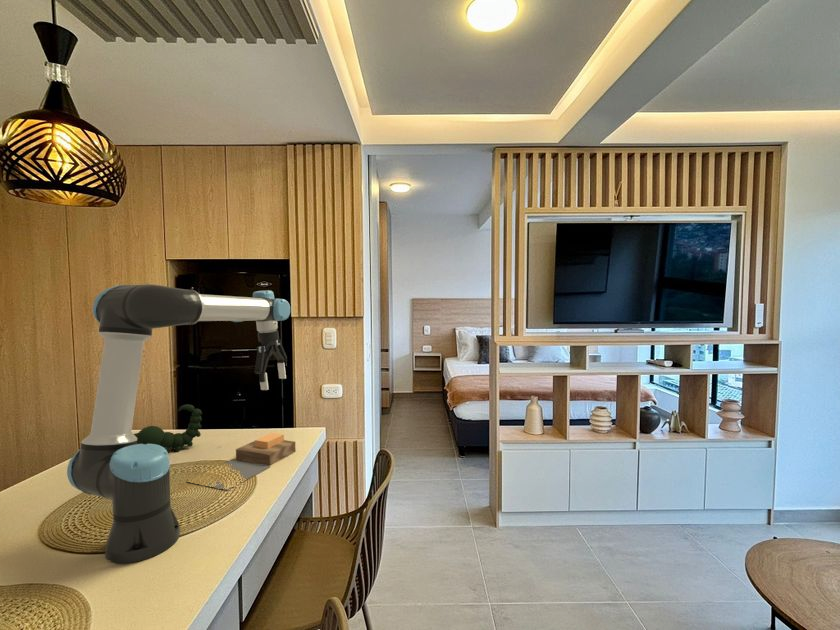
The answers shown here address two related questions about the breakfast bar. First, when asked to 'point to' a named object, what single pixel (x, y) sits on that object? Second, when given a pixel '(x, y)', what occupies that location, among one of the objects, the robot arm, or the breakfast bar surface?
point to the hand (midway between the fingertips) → (274, 383)
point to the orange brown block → (269, 440)
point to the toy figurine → (169, 439)
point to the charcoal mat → (243, 470)
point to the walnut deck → (265, 453)
